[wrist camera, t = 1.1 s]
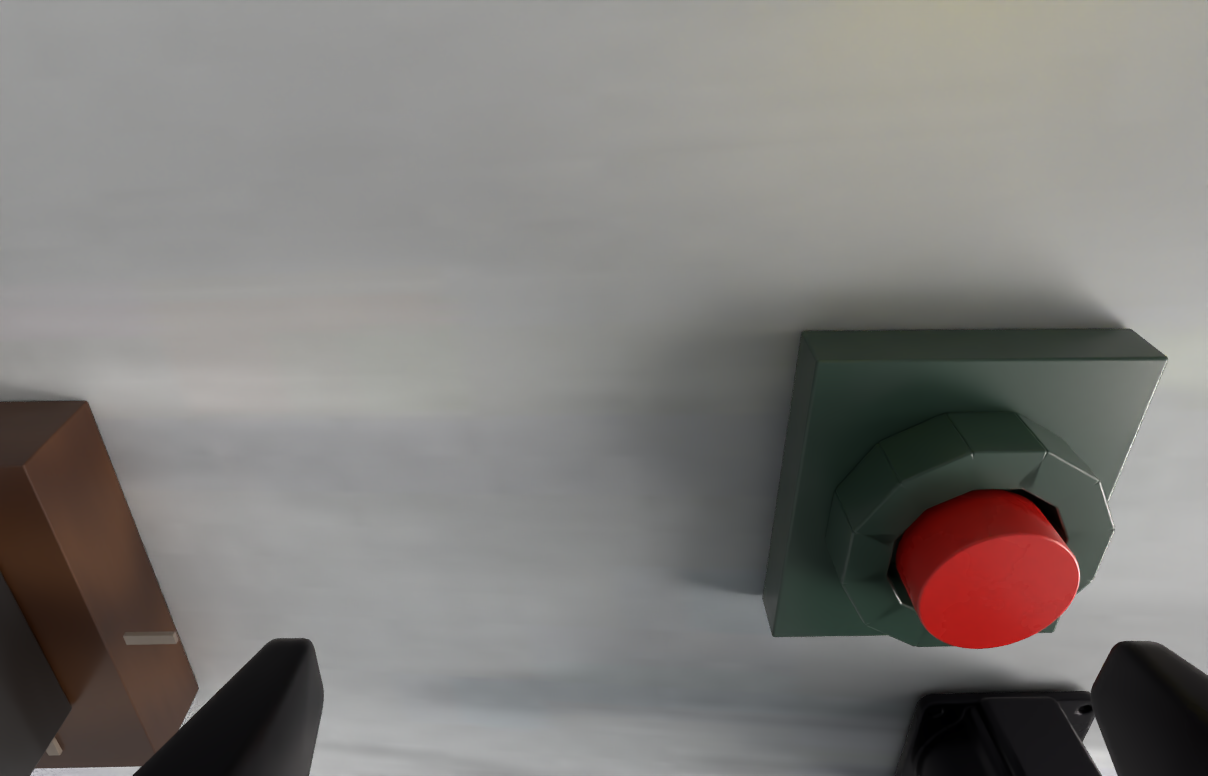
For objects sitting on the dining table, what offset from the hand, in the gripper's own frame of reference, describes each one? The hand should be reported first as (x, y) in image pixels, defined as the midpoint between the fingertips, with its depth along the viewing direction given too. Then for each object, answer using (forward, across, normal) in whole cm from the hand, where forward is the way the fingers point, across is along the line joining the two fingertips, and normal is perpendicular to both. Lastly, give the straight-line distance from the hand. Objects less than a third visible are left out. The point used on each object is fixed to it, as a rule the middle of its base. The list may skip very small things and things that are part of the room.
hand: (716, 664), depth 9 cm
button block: (+13, -9, +7) cm, 17 cm away
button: (+10, -9, +7) cm, 15 cm away
